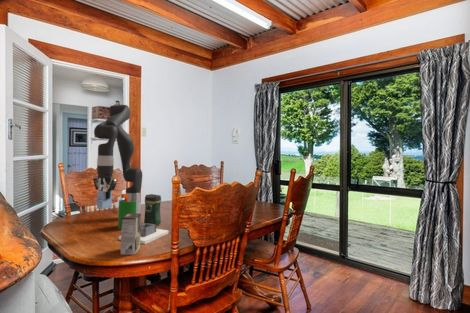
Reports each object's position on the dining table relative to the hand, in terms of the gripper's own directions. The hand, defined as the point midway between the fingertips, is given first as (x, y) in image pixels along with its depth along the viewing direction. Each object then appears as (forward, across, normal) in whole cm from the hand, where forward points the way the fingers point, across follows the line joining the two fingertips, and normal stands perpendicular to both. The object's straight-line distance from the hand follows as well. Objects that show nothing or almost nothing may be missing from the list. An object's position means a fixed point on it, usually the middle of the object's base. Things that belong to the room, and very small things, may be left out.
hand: (104, 198), depth 138 cm
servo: (+5, 0, 0) cm, 5 cm away
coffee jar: (+21, -5, -33) cm, 39 cm away
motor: (+21, +4, -21) cm, 30 cm away
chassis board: (+20, -16, -12) cm, 29 cm away
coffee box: (+21, -24, +8) cm, 33 cm away
